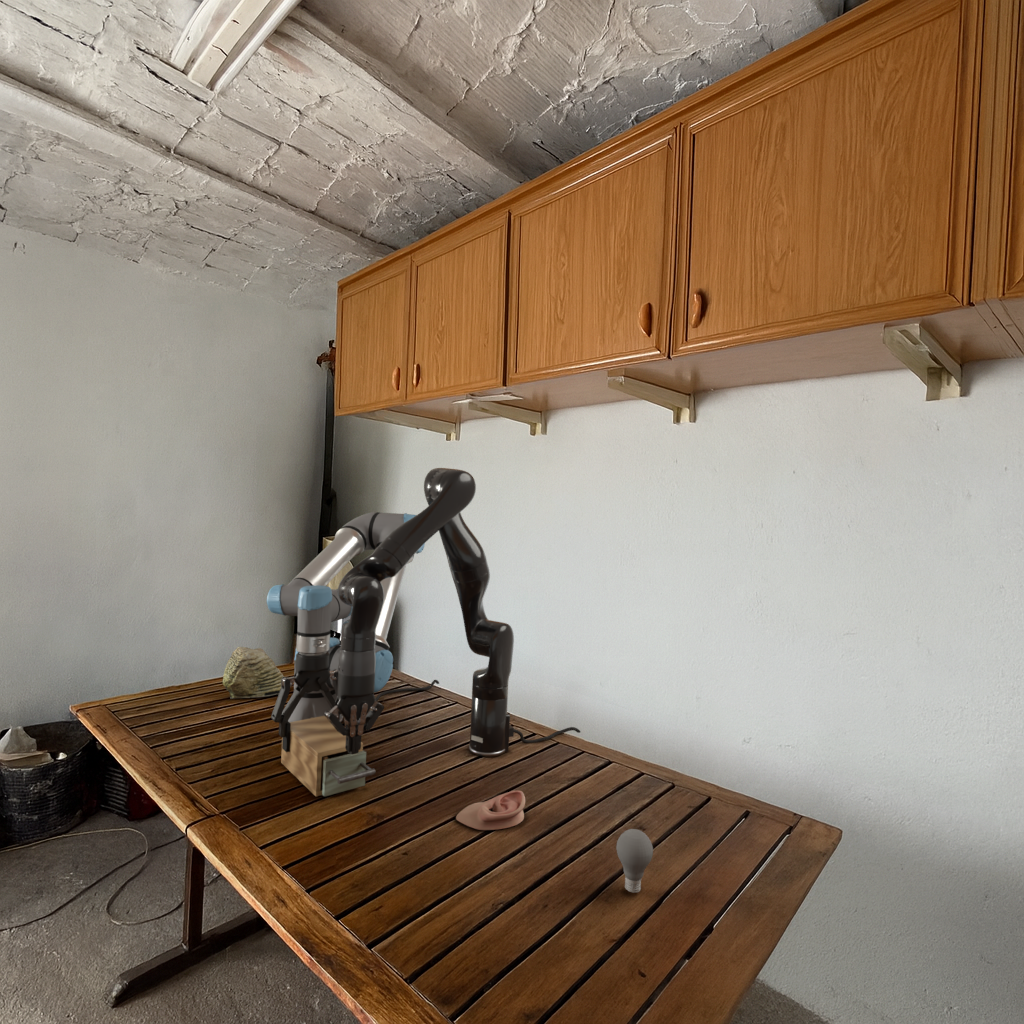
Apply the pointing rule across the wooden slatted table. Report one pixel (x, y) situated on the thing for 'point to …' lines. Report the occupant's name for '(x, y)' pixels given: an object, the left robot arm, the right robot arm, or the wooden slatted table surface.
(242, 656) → the fossil
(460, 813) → the anatomical model
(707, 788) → the wooden slatted table surface
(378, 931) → the wooden slatted table surface
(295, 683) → the left robot arm
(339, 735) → the cabinet
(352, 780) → the drawer
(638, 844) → the light bulb
